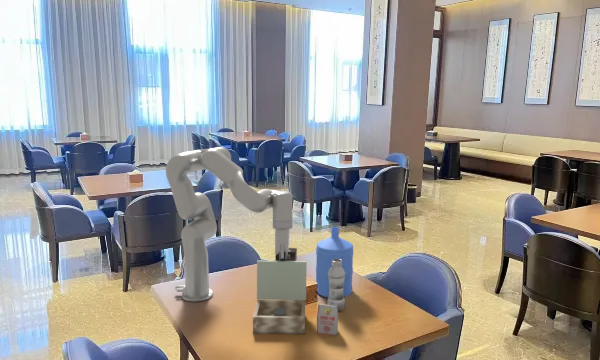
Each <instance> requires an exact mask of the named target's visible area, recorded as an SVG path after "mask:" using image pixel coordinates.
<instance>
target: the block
mask: <svg viewBox="0 0 600 360" xmlns="http://www.w3.org/2000/svg"><path fill="white" fill-rule="evenodd" d="M274 316H286V308H275V311H274Z"/></svg>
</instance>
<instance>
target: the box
mask: <svg viewBox="0 0 600 360" xmlns="http://www.w3.org/2000/svg"><path fill="white" fill-rule="evenodd" d="M256 300H257V301H256V305H255V307H254V308H255V309H254V312H253V316H252V333H253V334H269V335H270V334H272V335H273V334H275V335H279V334H280V335H281V334H282V335H306V334H305V331H306V330H305V329H306V328H305V327H306V326H305V325H306V300H262V299H256ZM275 308H286V316H274V311H275Z"/></svg>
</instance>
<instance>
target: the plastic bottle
mask: <svg viewBox="0 0 600 360" xmlns="http://www.w3.org/2000/svg"><path fill="white" fill-rule="evenodd" d="M341 266H342V260H341V259H333V260H332V267H331V268H330V269H329V271H328V278H329V297H328V298H327V305H330V306H337V310H338V312H339V311H342V310H343V309H344V308H345V304H346V302H345V297H344V294H343V286H344V278H345V272H344V270H343V268H342V267H341Z"/></svg>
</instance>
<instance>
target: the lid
mask: <svg viewBox="0 0 600 360" xmlns="http://www.w3.org/2000/svg"><path fill="white" fill-rule="evenodd" d="M307 264H308V263H307V261H306V260H305V261H303V260H302V261H301V260H297V261H275V260H257V261H256V300H292V301H307Z"/></svg>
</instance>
